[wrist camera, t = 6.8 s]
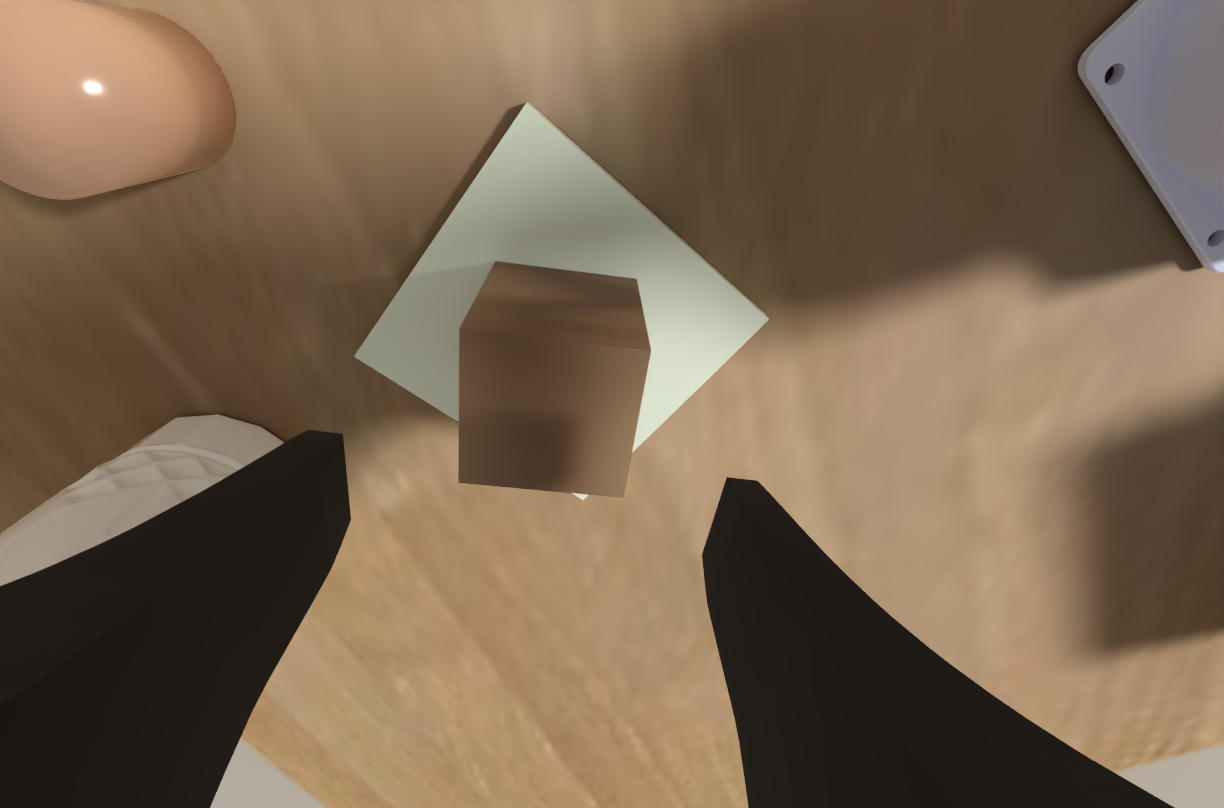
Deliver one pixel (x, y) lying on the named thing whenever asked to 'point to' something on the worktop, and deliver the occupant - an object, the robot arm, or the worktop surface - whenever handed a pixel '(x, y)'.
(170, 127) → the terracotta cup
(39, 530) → the white cup
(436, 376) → the coaster
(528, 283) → the walnut block
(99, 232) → the worktop surface
